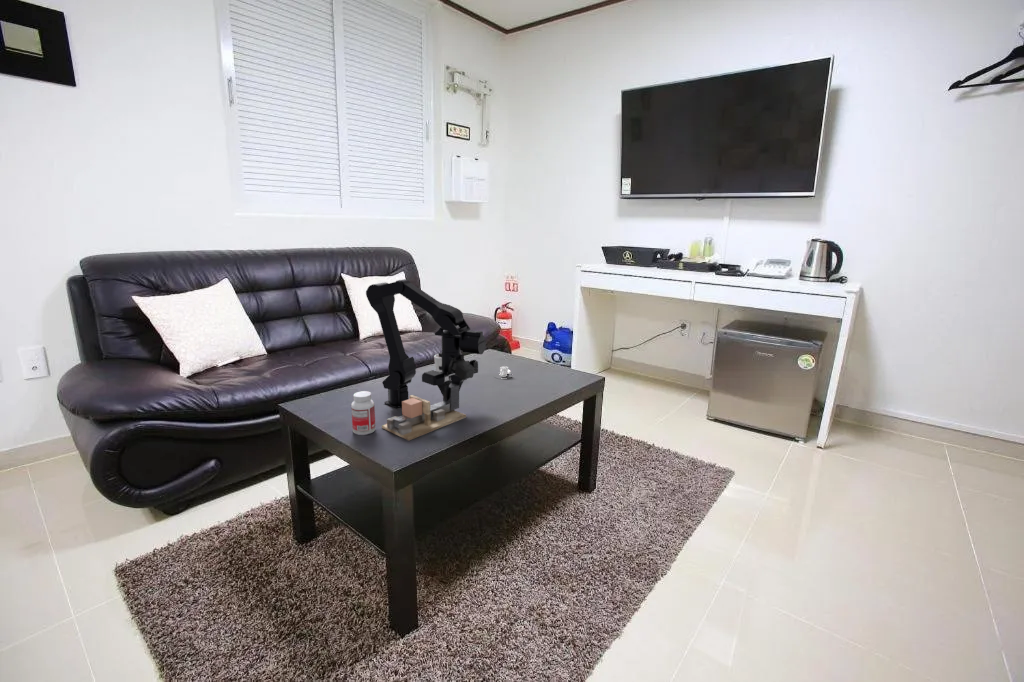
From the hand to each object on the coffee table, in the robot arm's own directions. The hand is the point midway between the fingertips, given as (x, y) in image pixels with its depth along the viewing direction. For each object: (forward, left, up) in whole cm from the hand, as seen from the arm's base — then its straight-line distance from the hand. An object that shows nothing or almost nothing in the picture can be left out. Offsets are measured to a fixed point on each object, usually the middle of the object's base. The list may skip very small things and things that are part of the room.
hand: (451, 398), depth 147 cm
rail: (0, -10, -4) cm, 11 cm away
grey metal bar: (0, -10, -3) cm, 10 cm away
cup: (-29, +26, -5) cm, 39 cm away
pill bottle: (-8, -26, -5) cm, 28 cm away
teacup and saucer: (-10, +42, -5) cm, 43 cm away
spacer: (0, -15, 0) cm, 15 cm away
